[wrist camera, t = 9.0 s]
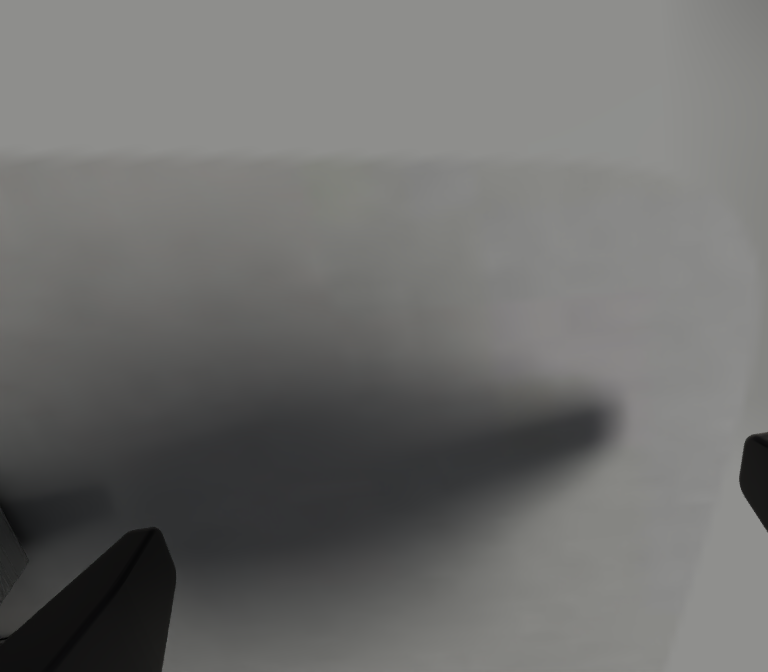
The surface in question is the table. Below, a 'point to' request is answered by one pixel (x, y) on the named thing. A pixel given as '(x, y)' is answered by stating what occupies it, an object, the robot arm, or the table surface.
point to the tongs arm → (9, 557)
